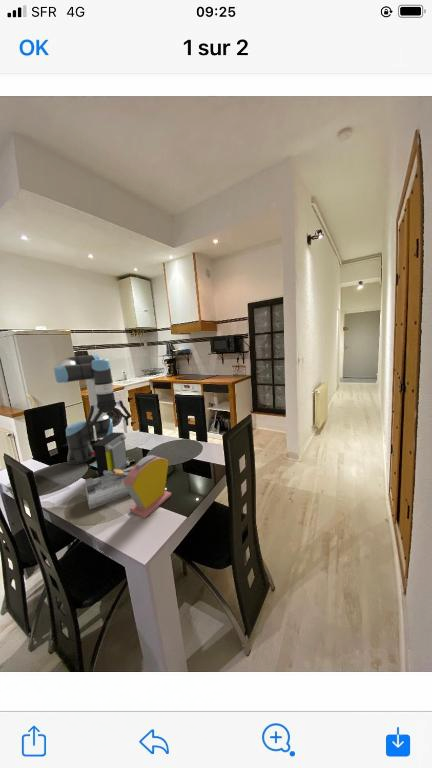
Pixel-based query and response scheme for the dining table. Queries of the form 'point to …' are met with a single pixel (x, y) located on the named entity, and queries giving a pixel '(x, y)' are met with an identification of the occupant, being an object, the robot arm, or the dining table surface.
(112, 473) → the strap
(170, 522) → the dining table surface
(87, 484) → the grey slider block
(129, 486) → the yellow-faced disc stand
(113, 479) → the rail slide plate
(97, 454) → the electrical component
